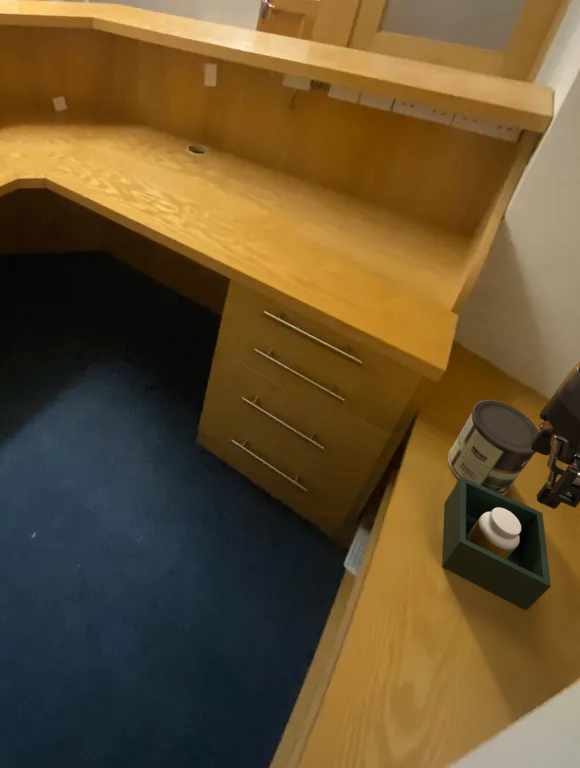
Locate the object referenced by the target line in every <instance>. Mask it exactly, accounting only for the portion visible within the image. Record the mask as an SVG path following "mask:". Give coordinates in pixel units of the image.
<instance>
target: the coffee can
mask: <svg viewBox="0 0 580 768" xmlns="http://www.w3.org/2000/svg"><path fill="white" fill-rule="evenodd" d="M539 432H540V430H539V428H538V427H537V426H536V424H535V423H534V422H533V421H532V420H531V419H530V417H528V416H527V415H526V414H524V413H523V412H522V411H521V410H519V409H518V408H516V407H514V406H512V405H510V404H508V403H505V402H502V401H499V400H494V399H484V400H481V401H478V402H476V404H475V405H474V406H473V408H472V410H471V413H470V415H469V417H468V419H467V421H466V422H465V424H464V426H463V428H462V429H461V431H460V433H459V434H458V436H457V438H456V440H455V441H454V443H453V445H452V447H450V449H449V450H448V452H447V453H448V454H447V460H448V464H449V467H450V469H451V471H452V473H453V474H454V475H455V477H456V478H457V479H458V480H459V479H460V478H461V477H463V478H466V479H468V480H470V481H472V482H475V483H477V484H479V485H481V486H483V487H486V488H488V489H490V490H492V491H495V492H497V493H499V494H501V495H503V496H506V494H507V493H508V492H509V489H510V488H511V486H513V483H515V481H516V479H518V477H519V475H520V474H521V473H522V471H523V470H524V469H525V467H526V466H527V465H528V463H529V462H530V461H531V459H532V458H533V457H534V455H535V454H536V453H537V452H535V451H533V450H532V449H531V443H532V442H533V440H534V439H535V437H536V436H537V435H538V433H539Z"/></svg>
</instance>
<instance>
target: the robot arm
mask: <svg viewBox="0 0 580 768" xmlns="http://www.w3.org/2000/svg"><path fill="white" fill-rule="evenodd" d="M539 419H541V420H543V422H540V424H539V425H538V431H539V433H538V435H537V436H536V437H535V439H534V440H533V442H532V443H531V449H532V450H533V451H535V452H536V453H538V454H541V455H543V456H546V457H547V456H548V459H547V462H546V467H547V468H548V469H549V473H548V477H547V481H546V482H545V483H544V484H543V486H542V487H541V488H540V490H539V491H538V492H537V493H536V496H535V497H536V501H537V502H538V503H539V504H542V505H544V506H546V507H548V508H550V509H553V510H554V509H557V508H558V507H559V506H560V505H561V503H562V504H564V505H567V506H569V507H571V508H574V509H575V508H577V506H578V505H580V360H579V361H578V363H577V364H576V365H575V366H574V367H573V368H572V369H570V371H569V372H568V373H567V374H566V376H565V377H564V379H563V380H562V381H561V383H560V385H559V386H558V387H557V389H556V391H555V392H554V394H553V395H552V396H551V397H550V399H549V400H548V402H547V403H546V404H545V406H544V407H543V409H542V410H541V411H540V412H539ZM557 461H558V462H559V463H562V464H564V465H567V467H566V468H565V467H561V466H559V465H557ZM558 476H559V478H558Z"/></svg>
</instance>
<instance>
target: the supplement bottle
mask: <svg viewBox="0 0 580 768" xmlns="http://www.w3.org/2000/svg"><path fill="white" fill-rule="evenodd" d="M520 532H521V524H520V522H519V520H518V519H517V518H516V517H515V515H513V514H512V513H511V512H510V511H508V510H506V509H504V508H495V509H493V510H492V512H486V513H484V514H483V515H482V516H481V517H480V518H479V520H478V521H477V522H476V524H475V525H474V526H473V528H472V529H471V531H470V532H469V533H468V535H467V537H466V540H467V541H469V542H472V543H474V544H476V545H478V546H480V547H482V548H484V549H486V550H488V551H490V552H492V553H494V554H496V555H498V556H500V557H502V558H504V559H507V558H508V557H509V555H510V554H511V553H512V552H513V551H514V550H515V548H516V547H517V546H518V544H519V541H520V538H519V533H520Z"/></svg>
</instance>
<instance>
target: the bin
mask: <svg viewBox="0 0 580 768" xmlns="http://www.w3.org/2000/svg"><path fill="white" fill-rule="evenodd" d="M495 508H504V509H506V510H508V511H510V512H511V513H512V514H513V515H515V517H516V518H517V519H518V520H519V522H520V524H521V532H520V533H519V538H520V541H519V544H518V546H517V547H516V548H515V550H514V551H513V552H512V553H511V554H510V555H509V557H508V558H507V559H504V558H502V557H500V556H498V555H496V554H494V553H492V552H490V551H488V550H486V549H484V548H482V547H480V546H478V545H476V544H474V543H472V542H469V541H467V540H466V537H467V535H468V533H469V532H470V531H471V529H472V528H473V526H474V525H475V524H476V522H477V521H478V520H479V518H480V517H481V516H482V515H483V514H484V513H486V512H492V510H493V509H495ZM443 512H444V513H443V531H442V532H443V533H442V534H443V537H442V556H441V558H442V560H441V567H442V568H443V569H446V570H447V571H449V572H451V573H453V574H455V575H457V576H459V577H461V578H463V580H467V581H468V582H470V583H473V584H474V585H476V586H478V587H480V588H482V589H484V590H486V591H488V592H489V593H491V594H493V595H495V596H496V597H499V598H501V599H503V600H505V601H506V602H509V603H510V604H513V606H516V607H517V608H520V609H521V610H524V611H528V610H529V609H530V608H531V607H532V606H533V605H534V604H535V603H536V602H537V601H538V600H539V599H540V598H541V597H542V596H543V595H544V594H545V593H546V592H547V591H548V590H549V589H550V588H551V586H552V585H551V577H550V576H551V575H550V567H549V559H548V549H547V541H546V540H547V539H546V533H545V531H546V530H545V524H544V523H545V522H544V515H543V512H542V511H539V510H537V509H535V508H533V507H531V506H528V505H526V504H523V503H522V502H519V501H517V500H514V499H513V498H510V497H508V496H506V495H501V494H499V493H497V492H495V491H492V490H490V489H488V488H486V487H483V486H481V485H479V484H477V483H475V482H472V481H470V480H468V479H466V478H463V477H461V478H460V479H458V481H457V483H456V484H455V485H454V487H453V489H452V490H451V492H450V493H449V495H448V497H447V498H446V500H445V502H444V510H443Z"/></svg>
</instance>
